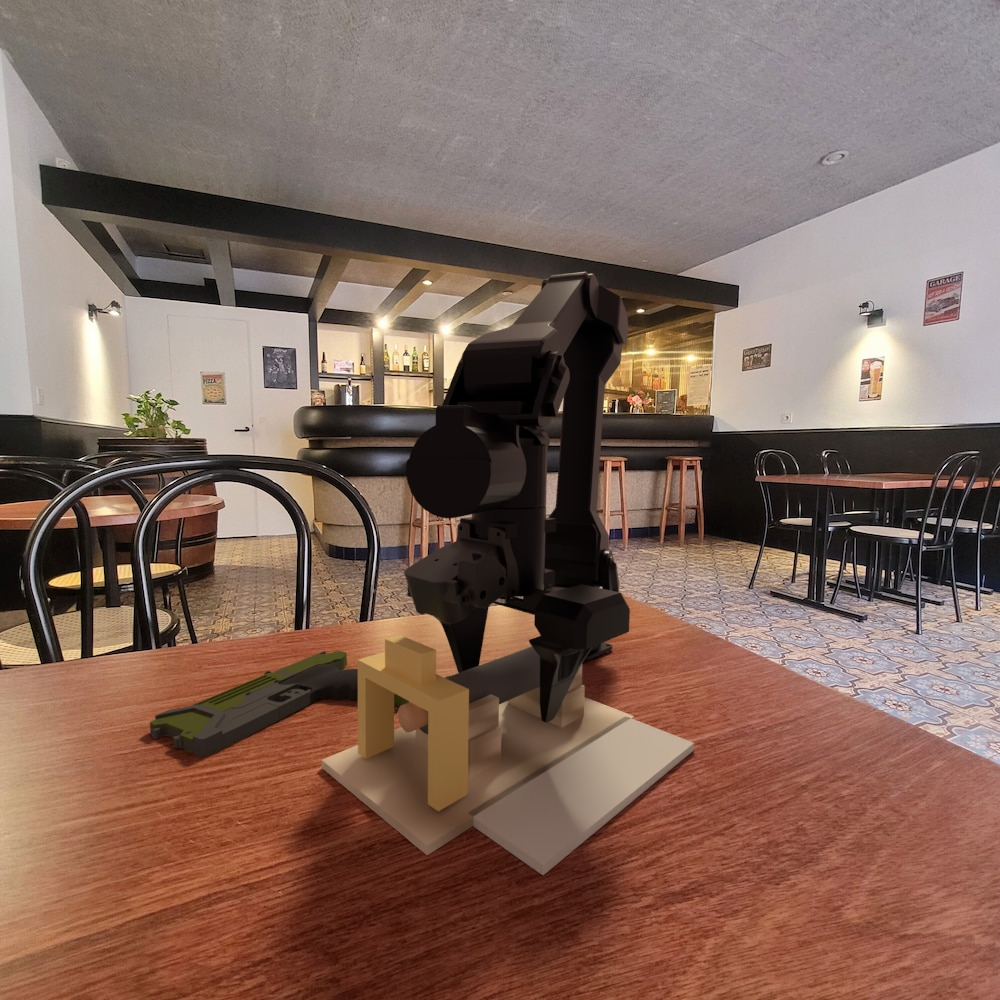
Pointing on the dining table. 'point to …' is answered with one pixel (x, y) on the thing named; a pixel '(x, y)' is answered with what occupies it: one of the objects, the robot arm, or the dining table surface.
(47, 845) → the dining table surface
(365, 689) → the strap
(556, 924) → the dining table surface
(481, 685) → the dark grey cylinder rod
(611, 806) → the mat
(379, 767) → the holder
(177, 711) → the gun
